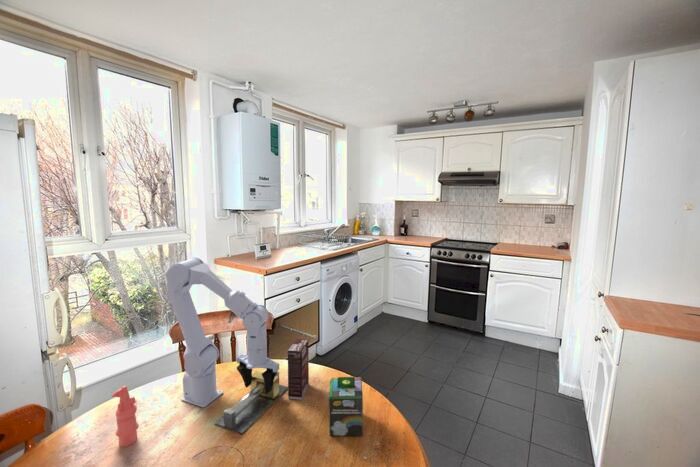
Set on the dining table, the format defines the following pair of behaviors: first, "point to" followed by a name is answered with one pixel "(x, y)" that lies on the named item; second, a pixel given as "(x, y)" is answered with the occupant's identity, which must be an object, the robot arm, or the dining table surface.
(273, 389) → the yellow block with hole
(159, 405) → the dining table surface
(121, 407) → the figurine
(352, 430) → the chalk box
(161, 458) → the dining table surface
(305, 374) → the supplement box
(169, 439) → the dining table surface
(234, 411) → the pipe stand
